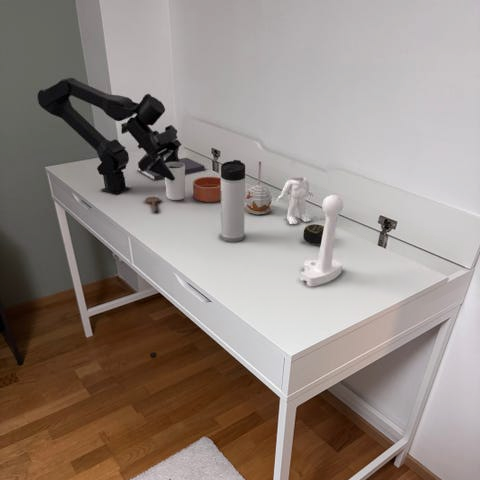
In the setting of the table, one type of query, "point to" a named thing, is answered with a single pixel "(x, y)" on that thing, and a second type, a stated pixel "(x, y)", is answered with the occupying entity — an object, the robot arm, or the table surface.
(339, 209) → the joystick
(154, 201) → the walnut spoon
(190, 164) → the notebook
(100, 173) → the robot arm
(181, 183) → the white paper coffee cup
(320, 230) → the tape measure
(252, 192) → the decorative ornament
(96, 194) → the table surface
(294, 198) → the toy creature
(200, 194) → the terracotta bowl
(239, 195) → the travel mug
